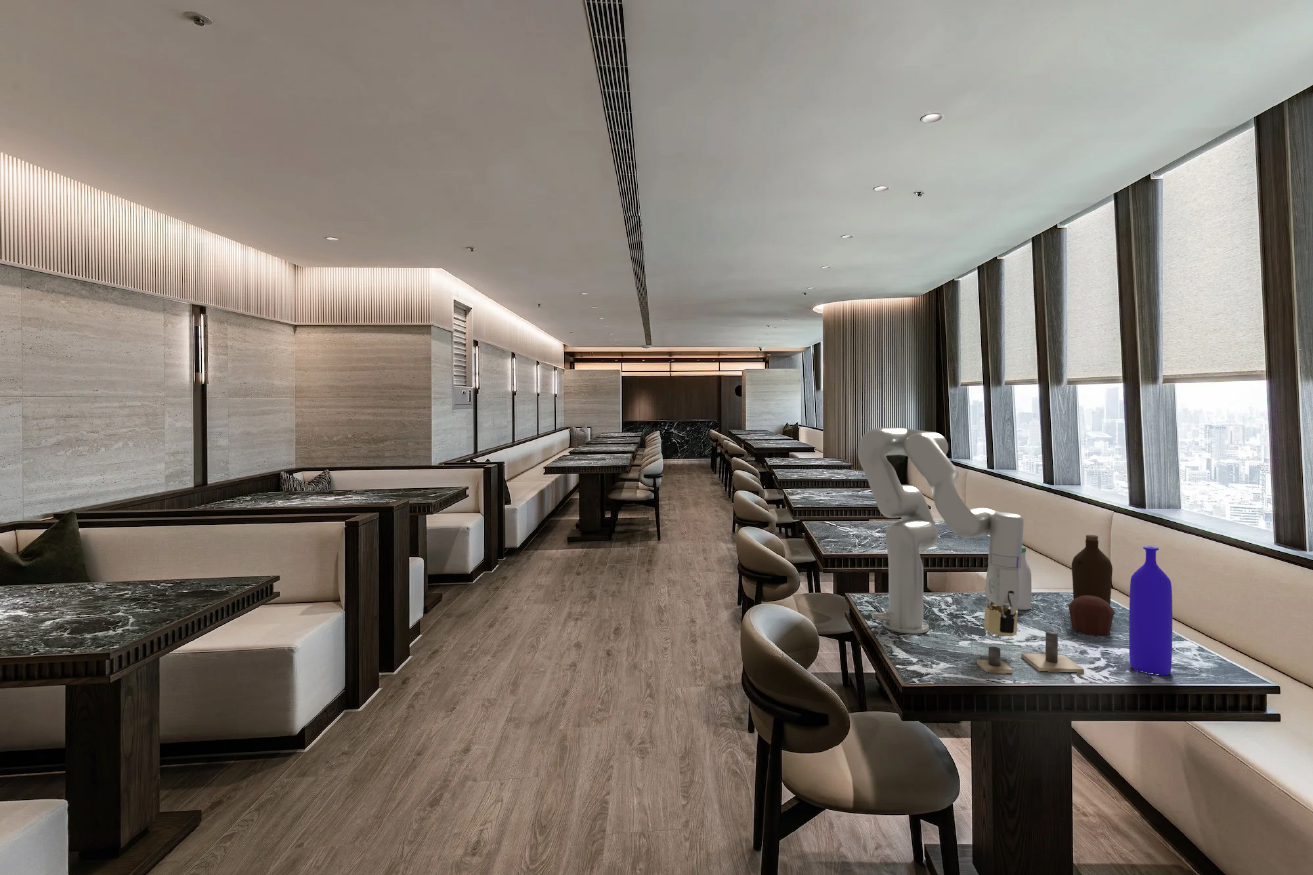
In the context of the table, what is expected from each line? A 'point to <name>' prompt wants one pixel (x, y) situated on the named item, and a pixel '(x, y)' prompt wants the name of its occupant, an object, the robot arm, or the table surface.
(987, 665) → the short post
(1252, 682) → the table surface
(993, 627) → the brass ring
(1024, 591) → the milk bottle
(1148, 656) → the bottle
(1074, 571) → the olive oil
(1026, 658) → the post stand
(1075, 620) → the muffin
